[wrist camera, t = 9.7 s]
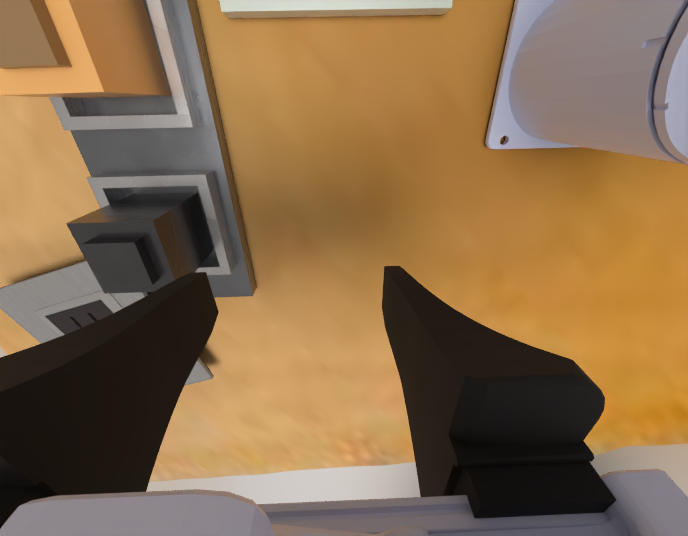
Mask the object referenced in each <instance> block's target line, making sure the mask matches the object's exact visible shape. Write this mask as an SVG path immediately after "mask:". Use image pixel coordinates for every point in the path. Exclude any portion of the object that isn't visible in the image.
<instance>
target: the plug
mask: <svg viewBox="0 0 688 536" xmlns="http://www.w3.org/2000/svg"><path fill="white" fill-rule="evenodd" d="M0 96H33V97H68V98H118V97H147V96H171V95H170V92H169V88H168V85H167V81H166V78H165V74H164V71H163V67H162V64H161V61H160V57H159V54H158V50H157V47H156V43H155V40H154V36H153V33H152V29H151V26H150V22H149V19H148V16H147V12H146V9H145V5H144V2H143V0H0Z"/></svg>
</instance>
